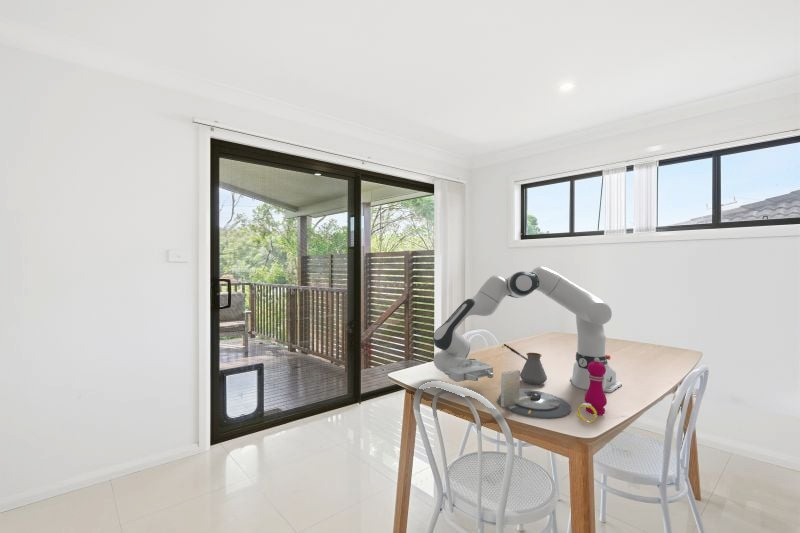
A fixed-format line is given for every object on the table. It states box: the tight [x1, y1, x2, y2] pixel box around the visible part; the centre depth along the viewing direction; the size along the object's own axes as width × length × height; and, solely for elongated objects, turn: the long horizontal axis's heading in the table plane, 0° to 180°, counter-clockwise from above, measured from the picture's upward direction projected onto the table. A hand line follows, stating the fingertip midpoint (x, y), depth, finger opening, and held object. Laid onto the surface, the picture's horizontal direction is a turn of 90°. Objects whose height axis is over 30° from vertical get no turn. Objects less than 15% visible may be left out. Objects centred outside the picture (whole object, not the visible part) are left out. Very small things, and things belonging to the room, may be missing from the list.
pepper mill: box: [584, 358, 608, 416], centre depth 139 cm, size 7×7×20 cm
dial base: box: [498, 392, 572, 420], centre depth 145 cm, size 26×26×1 cm
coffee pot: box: [501, 343, 548, 386], centre depth 174 cm, size 21×12×15 cm, turn 45°
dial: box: [500, 369, 559, 411], centre depth 143 cm, size 26×18×13 cm
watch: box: [577, 402, 598, 423], centre depth 131 cm, size 6×3×6 cm, turn 46°
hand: (484, 377), depth 151 cm, fingers open, 7 cm apart
